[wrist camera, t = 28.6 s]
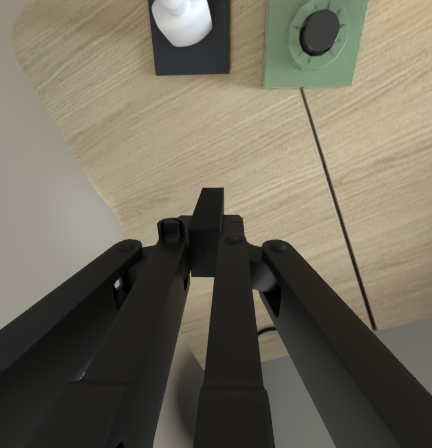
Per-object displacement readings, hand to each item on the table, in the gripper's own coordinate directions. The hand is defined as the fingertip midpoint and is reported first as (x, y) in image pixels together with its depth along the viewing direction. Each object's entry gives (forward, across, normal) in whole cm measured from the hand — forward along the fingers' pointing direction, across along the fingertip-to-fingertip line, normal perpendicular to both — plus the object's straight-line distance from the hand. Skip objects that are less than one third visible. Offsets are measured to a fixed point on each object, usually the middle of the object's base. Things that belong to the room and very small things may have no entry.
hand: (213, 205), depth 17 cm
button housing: (+22, +11, +14) cm, 28 cm away
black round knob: (+18, +11, +14) cm, 25 cm away
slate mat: (+22, -4, +16) cm, 28 cm away
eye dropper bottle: (+22, -4, +16) cm, 27 cm away
